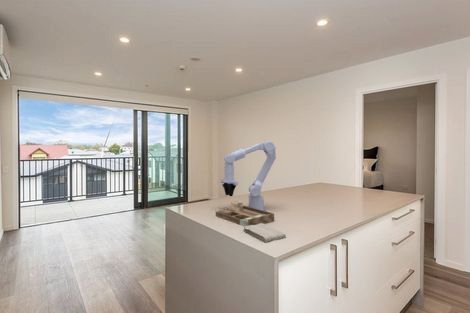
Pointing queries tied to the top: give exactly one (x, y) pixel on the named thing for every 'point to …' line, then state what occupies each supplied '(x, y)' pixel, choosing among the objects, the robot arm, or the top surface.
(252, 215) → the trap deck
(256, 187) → the robot arm
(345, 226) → the top surface
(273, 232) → the washcloth
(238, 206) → the birch block
